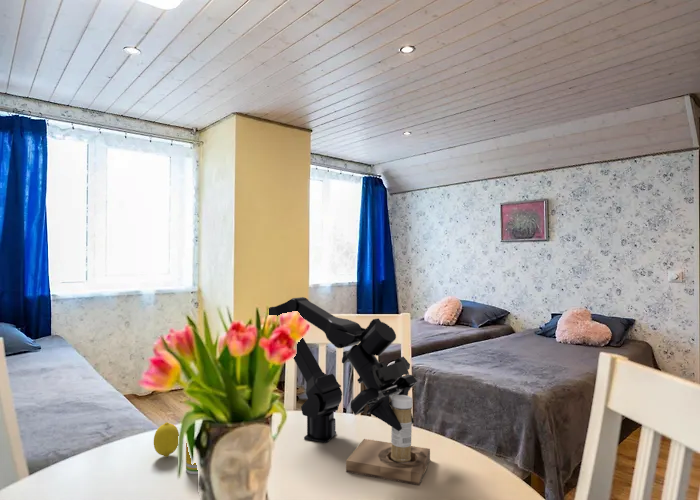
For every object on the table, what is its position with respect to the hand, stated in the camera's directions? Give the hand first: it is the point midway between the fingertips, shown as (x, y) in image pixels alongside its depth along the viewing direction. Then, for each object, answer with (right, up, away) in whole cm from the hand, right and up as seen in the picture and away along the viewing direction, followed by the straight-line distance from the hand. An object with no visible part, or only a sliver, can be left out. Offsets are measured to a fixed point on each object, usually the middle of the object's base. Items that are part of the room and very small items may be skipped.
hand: (406, 426), depth 95 cm
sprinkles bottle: (-1, -7, +1) cm, 8 cm away
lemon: (-55, -10, +6) cm, 57 cm away
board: (-4, -9, +2) cm, 10 cm away
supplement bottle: (-46, -10, +1) cm, 47 cm away
